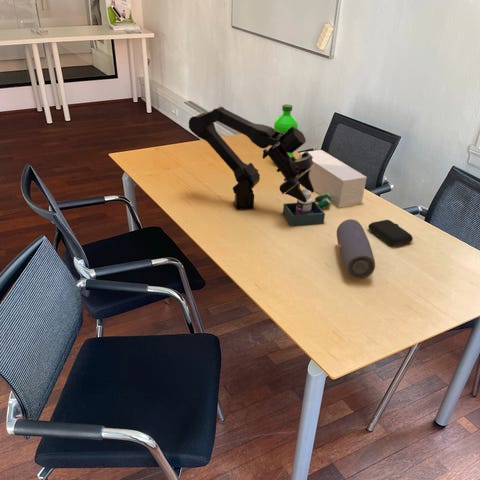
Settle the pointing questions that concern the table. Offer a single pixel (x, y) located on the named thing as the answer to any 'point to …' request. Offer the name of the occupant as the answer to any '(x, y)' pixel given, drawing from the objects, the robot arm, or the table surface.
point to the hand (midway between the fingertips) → (309, 196)
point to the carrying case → (390, 232)
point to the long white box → (336, 179)
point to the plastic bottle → (285, 122)
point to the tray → (303, 215)
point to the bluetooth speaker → (355, 249)
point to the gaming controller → (323, 200)
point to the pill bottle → (304, 204)
